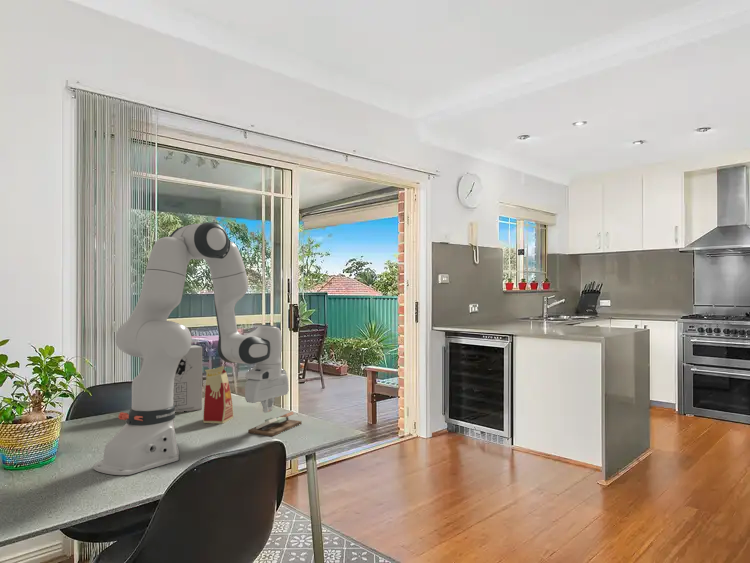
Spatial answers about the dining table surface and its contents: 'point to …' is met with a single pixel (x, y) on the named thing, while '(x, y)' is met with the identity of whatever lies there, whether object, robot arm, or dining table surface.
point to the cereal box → (188, 381)
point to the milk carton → (217, 397)
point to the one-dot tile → (266, 423)
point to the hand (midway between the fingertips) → (267, 411)
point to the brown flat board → (275, 427)
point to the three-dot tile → (288, 414)
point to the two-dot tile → (279, 419)
